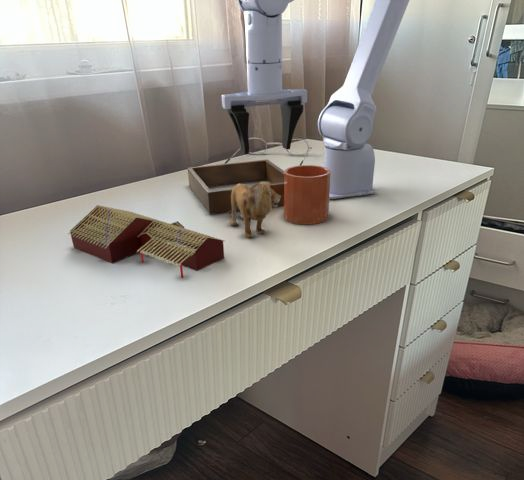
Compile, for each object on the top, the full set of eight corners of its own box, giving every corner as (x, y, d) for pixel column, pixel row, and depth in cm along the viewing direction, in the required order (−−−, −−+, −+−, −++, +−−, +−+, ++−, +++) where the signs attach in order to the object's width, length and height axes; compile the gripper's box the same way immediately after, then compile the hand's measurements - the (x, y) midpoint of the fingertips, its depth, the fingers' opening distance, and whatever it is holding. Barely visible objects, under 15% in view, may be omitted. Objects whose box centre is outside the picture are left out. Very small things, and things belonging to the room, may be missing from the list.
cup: (317, 207, 95) (319, 163, 90) (335, 221, 88) (338, 174, 84) (278, 212, 93) (277, 167, 88) (293, 227, 87) (294, 179, 82)
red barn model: (226, 256, 77) (224, 222, 74) (163, 286, 69) (158, 249, 66) (134, 226, 88) (129, 195, 86) (70, 248, 80) (62, 215, 77)
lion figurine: (284, 238, 82) (285, 182, 77) (256, 245, 80) (255, 188, 75) (240, 213, 93) (237, 162, 88) (214, 219, 91) (210, 167, 86)
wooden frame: (268, 178, 112) (267, 159, 110) (299, 203, 97) (299, 181, 95) (189, 187, 107) (187, 167, 105) (209, 214, 93) (207, 192, 90)
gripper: (296, 58, 87) (295, 141, 95) (214, 62, 83) (220, 149, 91) (313, 61, 82) (310, 149, 89) (226, 66, 78) (231, 158, 85)
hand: (266, 150), depth 90 cm, fingers open, 7 cm apart
